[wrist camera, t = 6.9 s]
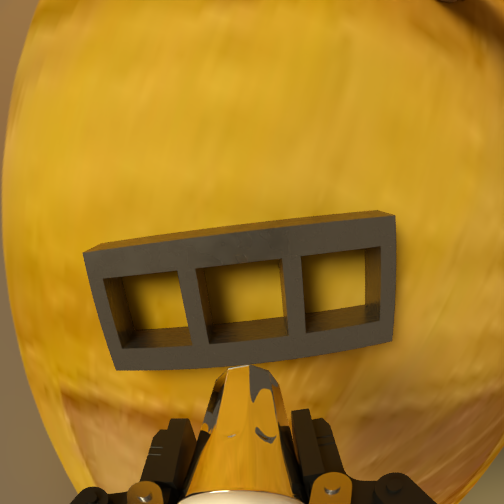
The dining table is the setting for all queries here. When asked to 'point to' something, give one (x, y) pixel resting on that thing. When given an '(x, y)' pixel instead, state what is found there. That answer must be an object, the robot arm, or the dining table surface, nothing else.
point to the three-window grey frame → (257, 331)
